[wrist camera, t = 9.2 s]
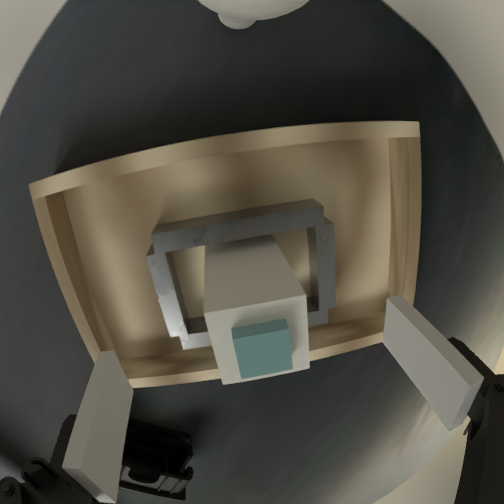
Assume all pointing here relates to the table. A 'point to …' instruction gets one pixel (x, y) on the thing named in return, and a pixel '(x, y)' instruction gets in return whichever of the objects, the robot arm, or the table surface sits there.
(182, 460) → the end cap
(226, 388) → the table surface
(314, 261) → the grey rectangular frame
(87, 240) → the birch box
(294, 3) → the lightbulb
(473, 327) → the table surface
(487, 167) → the table surface
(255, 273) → the white block teal patch
